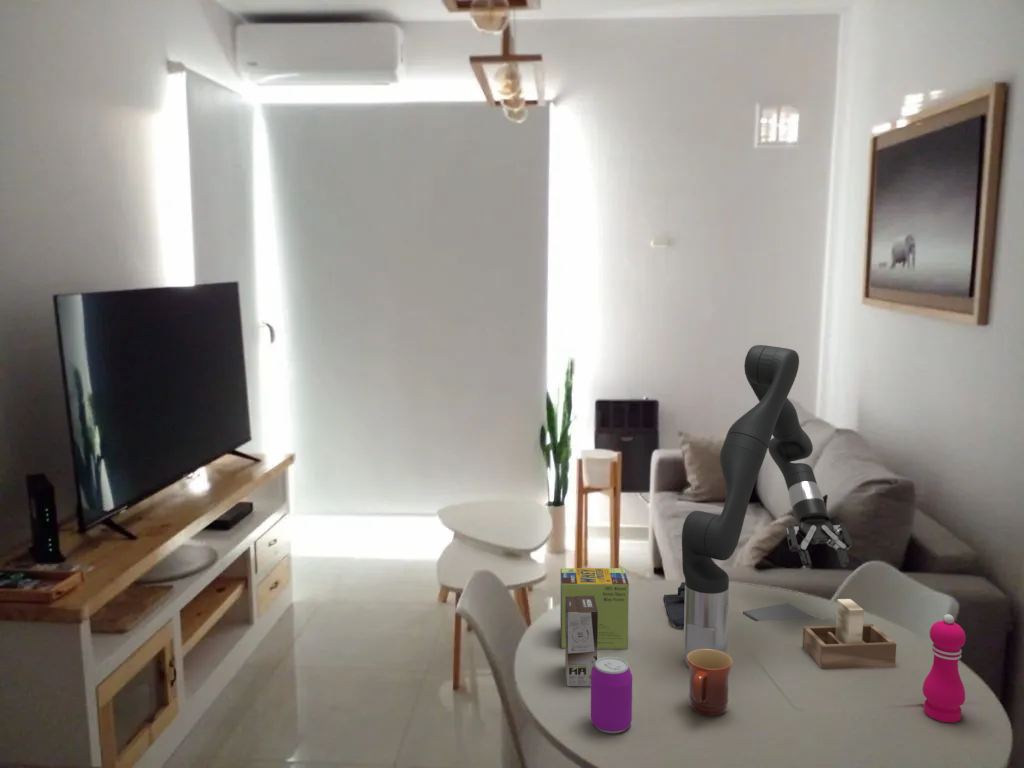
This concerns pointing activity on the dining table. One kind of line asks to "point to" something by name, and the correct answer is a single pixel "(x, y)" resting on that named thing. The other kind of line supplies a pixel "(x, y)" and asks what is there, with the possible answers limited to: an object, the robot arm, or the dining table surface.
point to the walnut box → (849, 648)
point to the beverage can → (611, 695)
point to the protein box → (600, 602)
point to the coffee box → (580, 639)
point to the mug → (709, 681)
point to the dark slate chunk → (676, 606)
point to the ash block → (849, 621)
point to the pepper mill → (945, 672)
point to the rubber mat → (778, 613)
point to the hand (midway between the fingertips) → (827, 566)
